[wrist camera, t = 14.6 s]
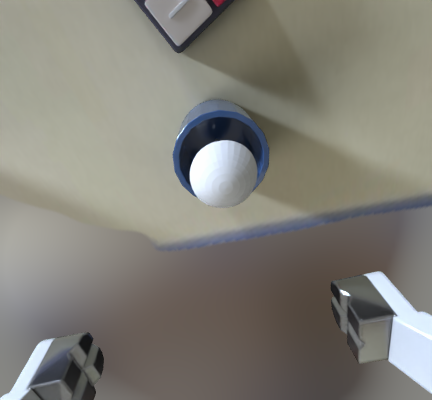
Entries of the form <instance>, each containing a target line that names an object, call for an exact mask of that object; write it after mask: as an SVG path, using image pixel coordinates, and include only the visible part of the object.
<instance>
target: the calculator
mask: <svg viewBox="0 0 432 400" xmlns="http://www.w3.org/2000/svg"><path fill="white" fill-rule="evenodd" d="M134 1H135V2H136V3H137V4H138V6H139V7H140V8H141V9H142V11H143V12H144V13H145V14H146V16H147V17H148V18H149V19H150V21H151V22H152V23H153V24H154V26H155V27H156V28H157V29H158V31H159V32H160V33H161V34H162V36H163V37H164V38H165V39H166V41H167V42H168V43H169V44H170V46H171V47H172V48H173V49H174V51H175V52H177V53H181V52H182V51H184V50H185V49H186V48H187V47H188V46H189V45H190V44H191V43H192V42H193V41H194V40H195V39H196V38H197V37H198V36H199V35H200V34H201V33H202V32H203V31H204V30H205V29H206V28H207V27H208V26H209V25H210V24H211V23H212V22H213V21H214V20H215V19H216V18H217V17H218V16H219V15H220V14H221V13H222V12H223V11H224V10H225V9H226V8H227V7H228V6H229V5H230V4H231V3H232V2H233V1H234V0H134Z"/></svg>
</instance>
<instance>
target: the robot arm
mask: <svg viewBox="0 0 432 400" xmlns="http://www.w3.org/2000/svg"><path fill="white" fill-rule="evenodd" d="M331 291H332V293H333V295H334V297H333V298H332V300H331V303H332V310H333V314H334V317H335V319H336V322H337V324H338V326H339V328H340V330H341V331H343V332H344V333H346V334H347V338H348V339H347V343H348V345H349V347H350V349H351V350H352V352H353V354H354V356H355V358H356V360H357V362H358V363H359V364H361V363H368V362H374V361H380V360H386V359H388V361H389V362H391V363H392V364H393V365H395V366H396V367H397V368H398V369H400V370H401V371H402V372H404V373H405V374H406V375H408V376H409V377H410V378H411V379H413V380H414V381H415V382H417V383H418V384H419V385H421V386H422V387H423V388H424V389H426V390H427V391H428V392H430V393H431V394H432V315H430V314H427V313H426V312H417V311H416V310H415V308H414V307H413V306H412V305H411V304H410V303H409V302H408V301H407V299H406V298H405V297H404V296H403V295H402V294H401V293H400V292H399V290H398V289H397V288H396V287H395V286H394V285H393V284H392V283H391V282H390V281H389V279H388V278H387V277H386V276H385V275H384V274H383V273H382V272H380V271H378V272H373V273H368V274H364V275H358V276H354V277H349V278H345V279H340V280H336V281H332V282H331ZM92 341H93V338H92V336H91V335H90V333H80V334H74V335H69V336H63V337H58V338H53V339H47V340H43V341H41V342H40V343H39V344H38V345H37V347H36V348H35V350H34V352H33V354H32V355H31V357H30V359H29V360H28V362H27V364H26V366H25V368H24V369H23V371H22V373H21V374H20V376H19V378H18V380H17V381H16V383H15V385H14V387H13V388H12V390H11V392H10V393H8V394H5V395H4V396H3V397H1V398H0V400H94V397H95V394H96V391H95V388H94V385H95V384H96V382H97V381H98V380H99V379H100V377H101V374H102V371H103V363H104V358H103V354H102V351H101V350H100V348H99V347H98V346H95V345H94V344H92Z"/></svg>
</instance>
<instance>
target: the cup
mask: <svg viewBox="0 0 432 400" xmlns="http://www.w3.org/2000/svg"><path fill="white" fill-rule="evenodd" d="M215 139H219V141H222V140H229V141H235V142H237V143H240V144H242V145H243V146H245V147H246V148H247V149H248V150H249V151H250V152H251V153H252V155H253V157H254V159H255V162H256V165H257V180H256V184H255V187H254V189H255V188H256V187H257V186H258V185H259V184H260V183H261V181H262V180H263V178H264V176H265V173H266V171H267V168H268V165H269V147H268V144H267V141H266V138H265V135H264V133H263V132H262V131H261V129H260V128H259V127H258V126H257V125H256V123H255V122H254V121H253V120H252V119H251V118H250V116H249V115H248V114H247V113H246V112H245V111H244V110H243V109H242V108H241V107H240V106H238V105H236V104H235V103H232V102H230V101H227V100H221V99H214V100H209V101H205V102H203V103H200V104H199V105H197V106H196V107H194V108H193V109H192V110H191V111H190V112H189V113H188V114H187V116H186V117H185V119H184V121H183V122H182V125H181V128H180V131H179V134H178V136H177V139H176V143H175V147H174V151H173V162H174V170H175V173H176V175H177V177H178V178H179V180H180V182H181V184H182V186H184V187H185V188H186V189H187V190H188V191H189V192H190V193H191V194H192V195H194V196H195V197H197V196H196V195H195V193H194V191H193V189H192V186H191V182H190V168H191V165H192V162H193V160H194V158H195V156H196V155H197V153H198V152H199V151H200V150H201V149H202V148H203V147H205V146H206V145H208V144H210V143H213V142H215ZM254 189H253V191H254ZM253 191H252V192H253Z"/></svg>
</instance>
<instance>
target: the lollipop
mask: <svg viewBox="0 0 432 400" xmlns="http://www.w3.org/2000/svg"><path fill="white" fill-rule="evenodd" d="M256 180H257V165H256V162H255V159H254V157H253V155H252V153H251V152H250V151H249V150H248V149H247V148H246V147H245V146H243V145H242V144H240V143H237V142H235V141H229V140H222V141H219V139H215V142H213V143H210V144H208V145H206V146H205V147H203V148H202V149H201V150H200V151H199V152H198V153H197V155H196V156H195V158H194V160H193V162H192V165H191V168H190V182H191V186H192V189H193V191H194V193H195V195H196V196H197V197H198V198H199V199H200V200H201V201H202V202H204V203H205V204H207V205H210V206H213V207H219V208H227V207H232V206H235V205H238V204H240V203H241V202H243V201H244V200H245V199H246V198H248V197H249V195H250V194H251V193H252V191H253V189H254V187H255V184H256Z"/></svg>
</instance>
